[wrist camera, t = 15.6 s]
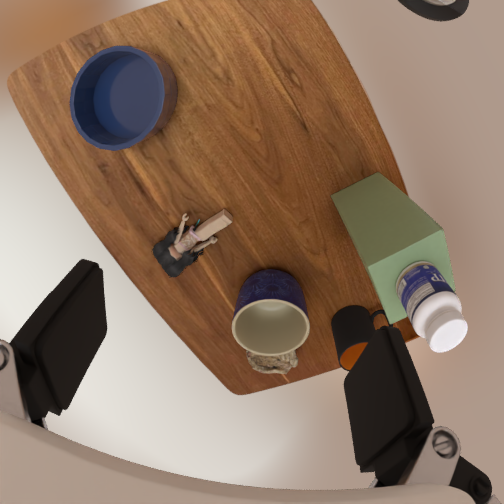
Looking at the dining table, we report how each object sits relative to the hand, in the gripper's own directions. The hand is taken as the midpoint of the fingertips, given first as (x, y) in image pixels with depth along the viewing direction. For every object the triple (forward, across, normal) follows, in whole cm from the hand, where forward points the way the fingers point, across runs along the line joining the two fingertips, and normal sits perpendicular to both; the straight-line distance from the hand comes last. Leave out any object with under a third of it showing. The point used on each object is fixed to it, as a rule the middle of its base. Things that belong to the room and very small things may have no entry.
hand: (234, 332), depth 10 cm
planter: (+40, -8, +26) cm, 49 cm away
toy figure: (+40, +8, +18) cm, 45 cm away
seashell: (+40, -12, +40) cm, 58 cm away
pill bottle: (+18, -19, +6) cm, 27 cm away
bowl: (+40, +22, -4) cm, 46 cm away
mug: (+40, -27, +28) cm, 56 cm away
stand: (+40, -19, +6) cm, 45 cm away
